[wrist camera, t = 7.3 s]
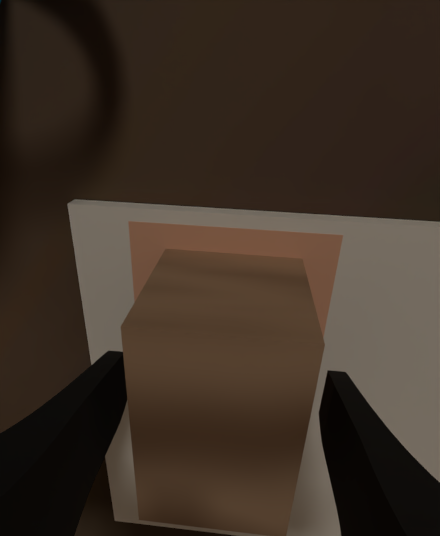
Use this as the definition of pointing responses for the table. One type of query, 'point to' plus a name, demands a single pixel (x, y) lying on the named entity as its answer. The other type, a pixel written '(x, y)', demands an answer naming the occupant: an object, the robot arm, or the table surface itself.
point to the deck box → (221, 389)
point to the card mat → (326, 304)
